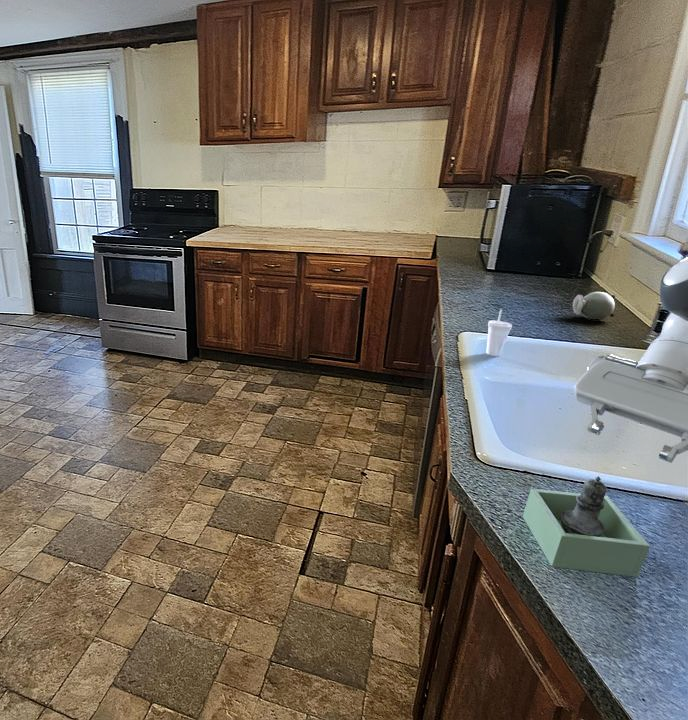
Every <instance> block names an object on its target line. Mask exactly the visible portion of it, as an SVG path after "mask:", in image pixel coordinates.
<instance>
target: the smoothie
mask: <svg viewBox="0 0 688 720" xmlns="http://www.w3.org/2000/svg"><path fill="white" fill-rule="evenodd" d="M503 310H504V309H502V308H500V309H499V314H498V318H497V320H495V319H493V320H488V321H487V322H488V323H487V326H488V329H487V341H486V351H485V352H486V354H487V355H488V356H492V357H500V356H501V354H502V352H503V348H504V346H505V343H506V342H507V338H508V336H509V333H510V332H511V330H512V329H513V324H512V323H511V322H507V321H503V320H501V317H502V313H503Z"/></svg>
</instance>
